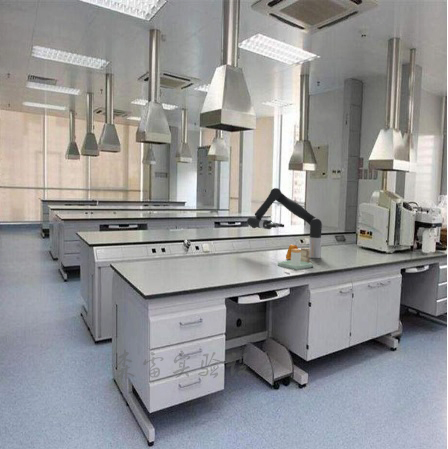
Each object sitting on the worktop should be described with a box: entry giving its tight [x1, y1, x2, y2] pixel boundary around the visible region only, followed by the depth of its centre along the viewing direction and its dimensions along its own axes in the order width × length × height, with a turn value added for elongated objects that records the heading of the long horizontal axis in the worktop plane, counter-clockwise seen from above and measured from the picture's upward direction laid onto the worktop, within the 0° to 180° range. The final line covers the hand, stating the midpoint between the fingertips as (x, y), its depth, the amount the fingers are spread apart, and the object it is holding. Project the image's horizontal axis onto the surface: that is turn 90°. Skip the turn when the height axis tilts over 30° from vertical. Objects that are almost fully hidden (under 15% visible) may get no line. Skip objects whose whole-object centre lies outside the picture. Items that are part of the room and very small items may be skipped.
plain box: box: [300, 247, 311, 263], centre depth 284 cm, size 5×5×12 cm
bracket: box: [285, 244, 299, 260], centre depth 301 cm, size 11×7×12 cm, turn 117°
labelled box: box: [291, 248, 301, 266], centre depth 273 cm, size 5×5×12 cm
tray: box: [277, 259, 314, 271], centre depth 273 cm, size 18×18×3 cm
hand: (280, 226), depth 290 cm, fingers open, 8 cm apart
